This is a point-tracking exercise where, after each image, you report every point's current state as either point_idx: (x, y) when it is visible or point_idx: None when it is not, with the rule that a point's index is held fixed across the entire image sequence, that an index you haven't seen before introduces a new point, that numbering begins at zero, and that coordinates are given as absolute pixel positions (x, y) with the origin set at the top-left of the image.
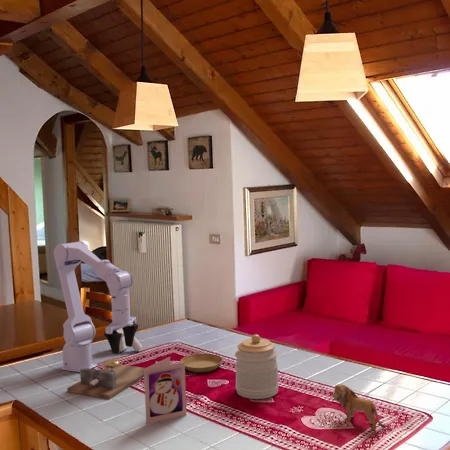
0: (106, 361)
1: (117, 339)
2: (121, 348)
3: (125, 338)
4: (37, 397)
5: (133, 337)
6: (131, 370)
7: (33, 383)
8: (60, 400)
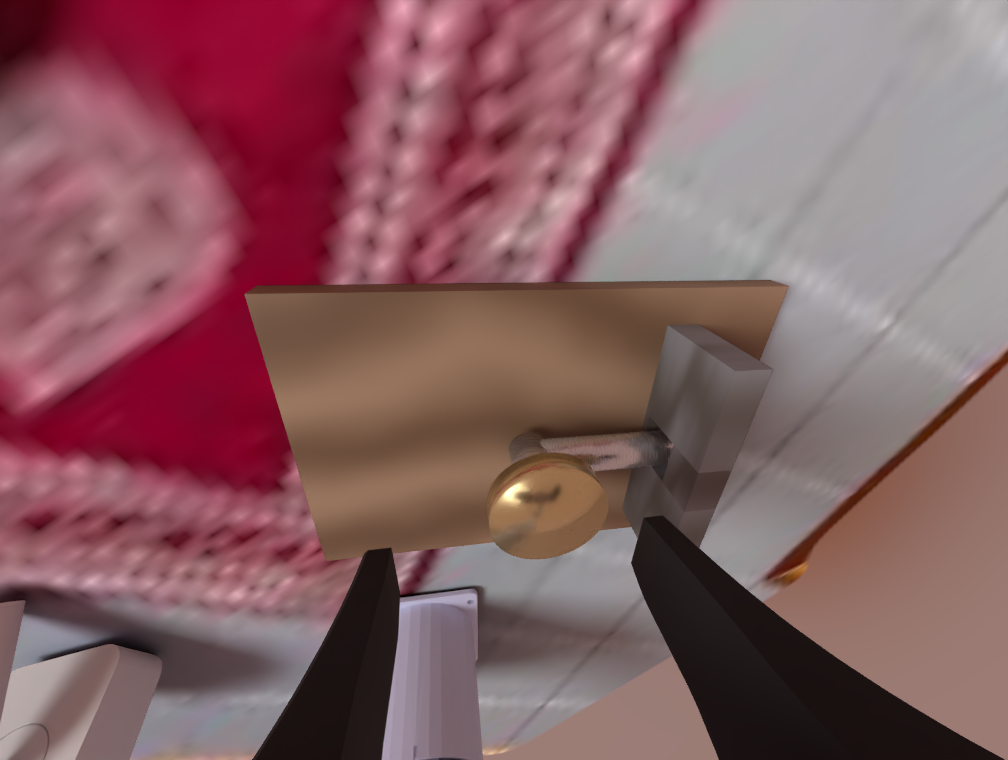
0: (560, 544)
1: (912, 708)
2: (101, 665)
3: (386, 708)
4: (746, 547)
5: (328, 674)
6: (365, 416)
7: (624, 630)
8: (777, 470)
